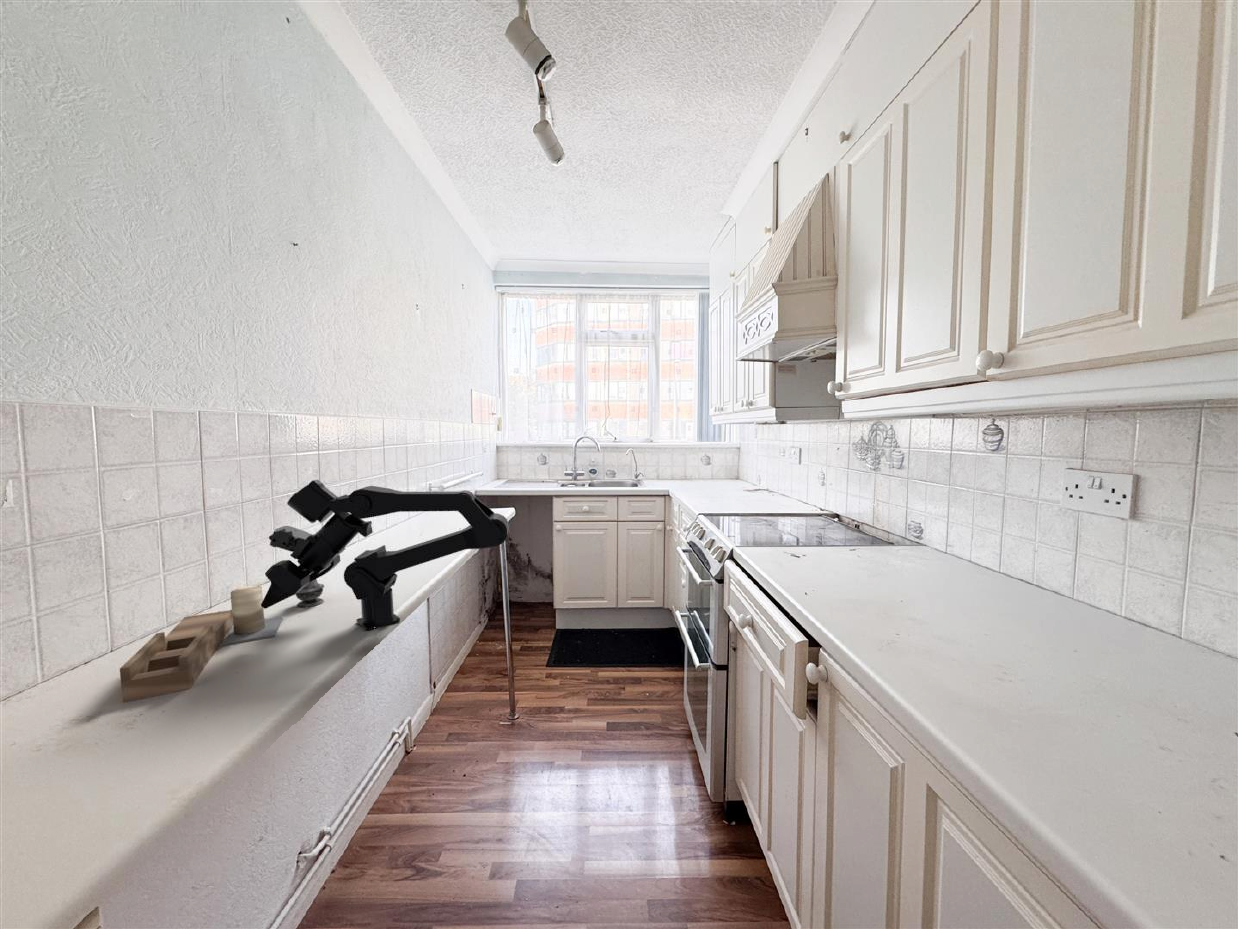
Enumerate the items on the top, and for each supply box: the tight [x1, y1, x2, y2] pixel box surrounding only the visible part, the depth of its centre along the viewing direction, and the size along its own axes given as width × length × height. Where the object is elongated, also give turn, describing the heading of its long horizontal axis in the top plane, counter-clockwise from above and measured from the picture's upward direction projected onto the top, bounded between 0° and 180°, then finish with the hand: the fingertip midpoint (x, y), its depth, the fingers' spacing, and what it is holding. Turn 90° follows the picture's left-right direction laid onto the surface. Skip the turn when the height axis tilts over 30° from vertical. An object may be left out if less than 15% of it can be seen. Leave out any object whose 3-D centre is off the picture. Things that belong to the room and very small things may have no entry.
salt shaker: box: [295, 578, 325, 609], centre depth 109 cm, size 6×6×12 cm
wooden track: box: [119, 609, 233, 703], centre depth 84 cm, size 28×8×5 cm, turn 27°
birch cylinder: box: [229, 585, 265, 635], centre depth 94 cm, size 5×5×8 cm
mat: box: [221, 616, 284, 646], centre depth 95 cm, size 10×8×1 cm
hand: (276, 598), depth 95 cm, fingers open, 9 cm apart
